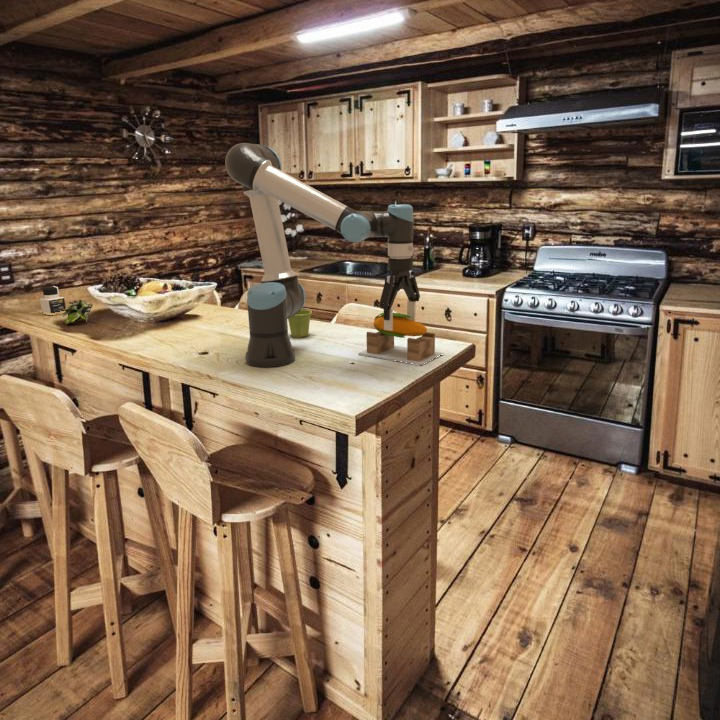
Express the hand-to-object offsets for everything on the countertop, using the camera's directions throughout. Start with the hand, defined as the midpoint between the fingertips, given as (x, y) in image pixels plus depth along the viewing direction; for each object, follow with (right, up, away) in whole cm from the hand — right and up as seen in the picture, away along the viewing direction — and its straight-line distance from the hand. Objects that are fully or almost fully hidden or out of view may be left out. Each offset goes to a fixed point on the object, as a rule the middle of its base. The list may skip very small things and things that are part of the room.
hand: (400, 325), depth 189 cm
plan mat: (0, -9, +3) cm, 10 cm away
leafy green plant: (-126, +4, +57) cm, 138 cm away
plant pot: (-34, -2, +29) cm, 45 cm away
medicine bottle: (-146, +9, +75) cm, 164 cm away
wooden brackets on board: (0, -9, +3) cm, 10 cm away
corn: (0, -4, +1) cm, 4 cm away
